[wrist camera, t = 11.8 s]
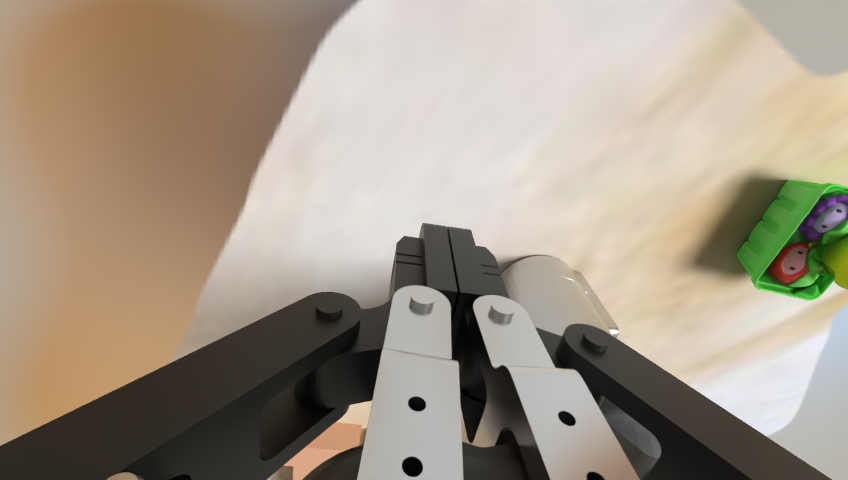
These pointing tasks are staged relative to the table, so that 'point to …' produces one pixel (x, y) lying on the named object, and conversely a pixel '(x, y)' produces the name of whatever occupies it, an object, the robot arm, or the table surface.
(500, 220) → the table surface
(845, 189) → the fruit basket
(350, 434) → the T-block
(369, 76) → the table surface
